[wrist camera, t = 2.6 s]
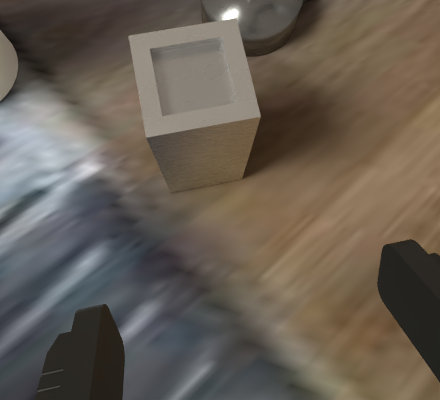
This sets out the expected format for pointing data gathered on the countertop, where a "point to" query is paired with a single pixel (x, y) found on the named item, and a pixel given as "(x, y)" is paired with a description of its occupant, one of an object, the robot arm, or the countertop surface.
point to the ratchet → (256, 21)
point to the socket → (196, 102)
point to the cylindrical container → (7, 65)
